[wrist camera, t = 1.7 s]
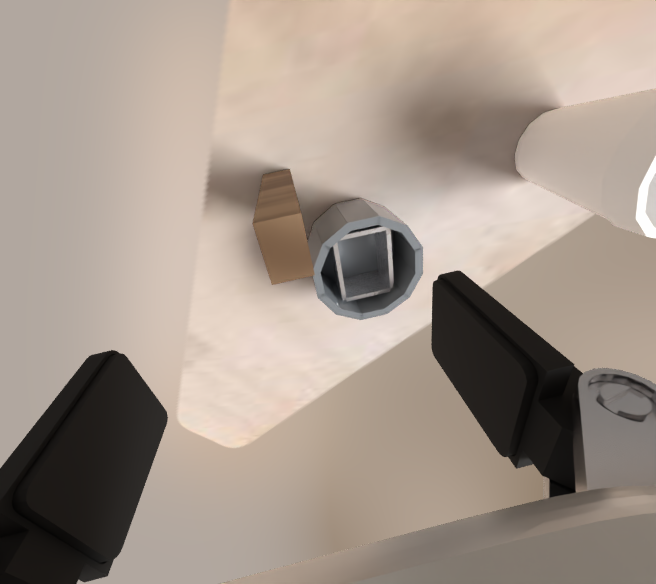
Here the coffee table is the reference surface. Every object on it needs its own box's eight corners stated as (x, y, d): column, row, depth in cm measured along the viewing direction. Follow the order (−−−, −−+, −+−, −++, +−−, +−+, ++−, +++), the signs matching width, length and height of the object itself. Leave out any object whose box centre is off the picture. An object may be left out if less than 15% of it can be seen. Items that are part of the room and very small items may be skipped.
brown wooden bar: (263, 174, 26) (252, 223, 14) (289, 169, 26) (301, 212, 14) (273, 213, 28) (271, 284, 16) (298, 207, 28) (314, 275, 16)
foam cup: (516, 214, 32) (644, 266, 21) (484, 141, 27) (624, 158, 16) (601, 151, 30) (794, 172, 19) (582, 61, 25) (818, 19, 14)
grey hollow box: (325, 223, 29) (331, 237, 25) (376, 212, 29) (390, 224, 25) (335, 282, 32) (343, 302, 29) (381, 272, 32) (394, 290, 29)
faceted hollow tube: (298, 211, 28) (303, 232, 23) (396, 190, 29) (423, 206, 23) (317, 296, 33) (324, 328, 28) (400, 277, 34) (422, 305, 29)
